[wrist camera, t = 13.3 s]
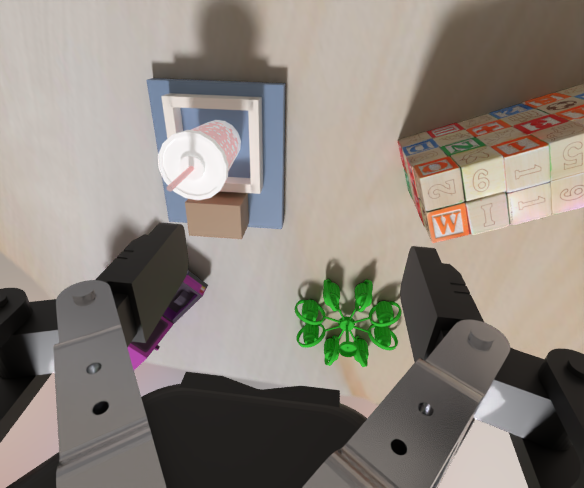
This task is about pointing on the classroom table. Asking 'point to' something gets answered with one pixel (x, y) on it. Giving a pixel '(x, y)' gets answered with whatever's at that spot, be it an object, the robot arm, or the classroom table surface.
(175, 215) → the blue square tray
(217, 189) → the beverage cup
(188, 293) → the toy truck
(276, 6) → the classroom table surface
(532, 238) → the classroom table surface
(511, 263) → the classroom table surface
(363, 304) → the chandelier
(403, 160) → the stack of blocks
